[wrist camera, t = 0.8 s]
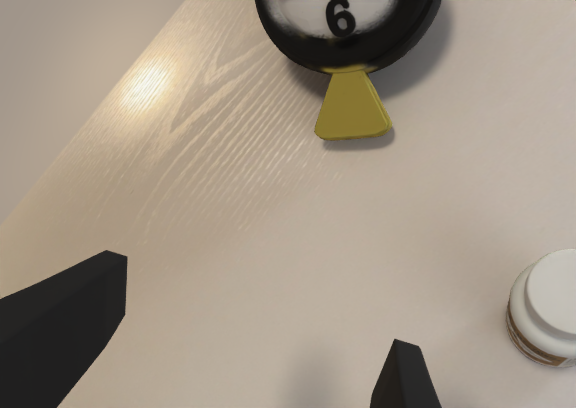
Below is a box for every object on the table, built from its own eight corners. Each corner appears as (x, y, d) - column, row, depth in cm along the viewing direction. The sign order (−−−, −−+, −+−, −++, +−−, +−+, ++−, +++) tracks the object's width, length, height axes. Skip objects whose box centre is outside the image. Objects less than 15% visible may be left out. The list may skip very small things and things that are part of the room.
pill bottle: (488, 309, 27) (490, 272, 21) (559, 268, 27) (585, 217, 20) (541, 384, 25) (563, 370, 19) (620, 341, 25) (671, 310, 18)
